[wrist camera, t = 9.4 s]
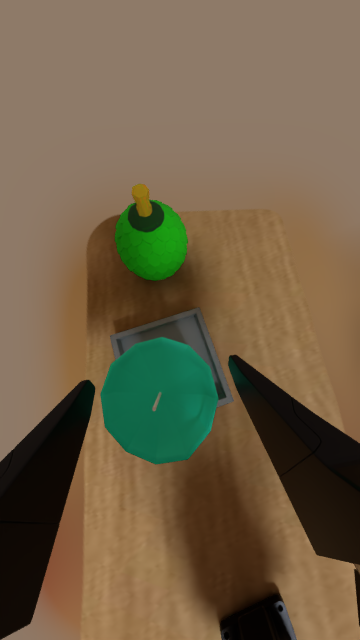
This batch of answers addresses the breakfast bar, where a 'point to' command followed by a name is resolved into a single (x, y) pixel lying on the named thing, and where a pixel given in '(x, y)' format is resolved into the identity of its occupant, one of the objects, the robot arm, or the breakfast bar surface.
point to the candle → (159, 400)
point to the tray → (182, 330)
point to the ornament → (150, 237)
